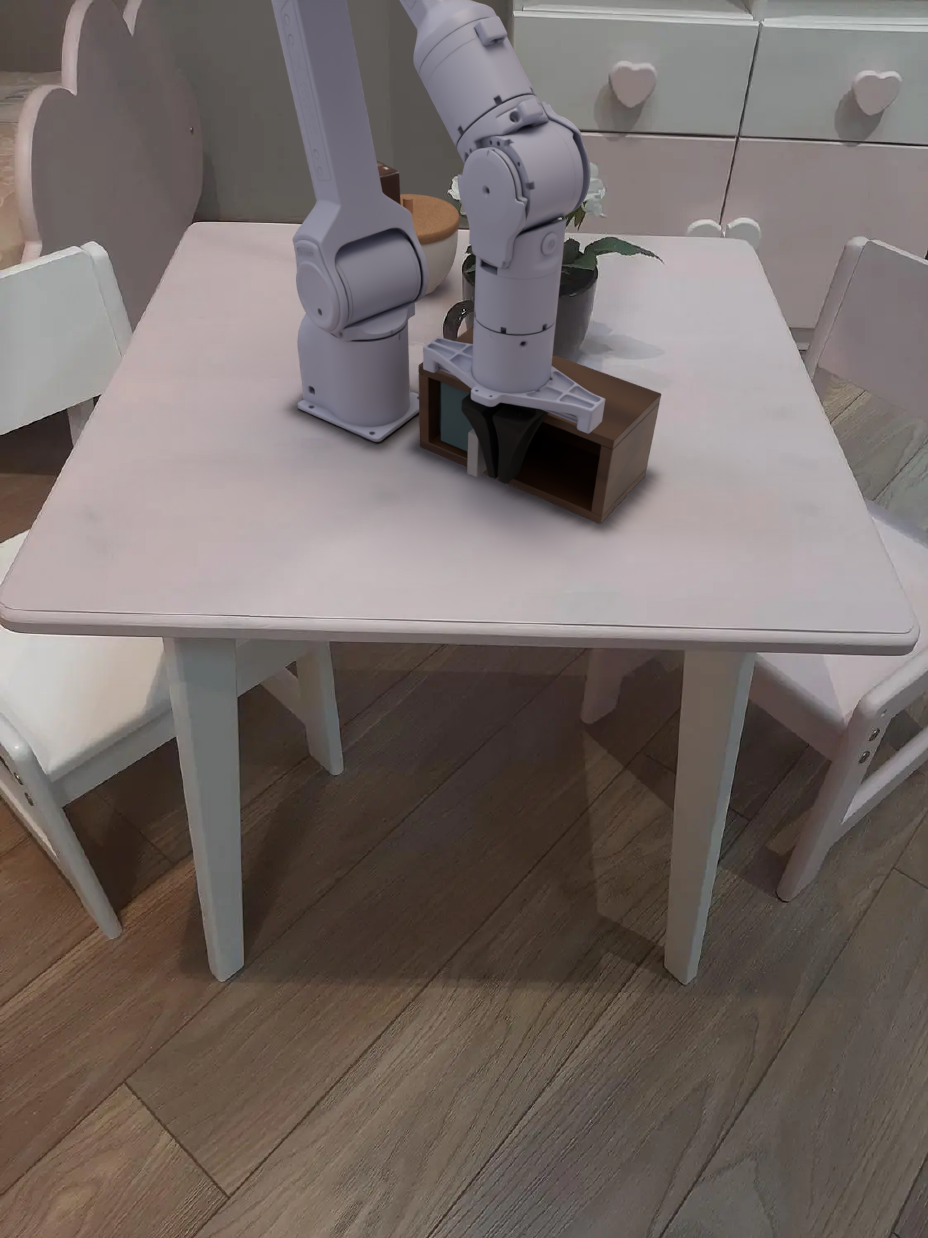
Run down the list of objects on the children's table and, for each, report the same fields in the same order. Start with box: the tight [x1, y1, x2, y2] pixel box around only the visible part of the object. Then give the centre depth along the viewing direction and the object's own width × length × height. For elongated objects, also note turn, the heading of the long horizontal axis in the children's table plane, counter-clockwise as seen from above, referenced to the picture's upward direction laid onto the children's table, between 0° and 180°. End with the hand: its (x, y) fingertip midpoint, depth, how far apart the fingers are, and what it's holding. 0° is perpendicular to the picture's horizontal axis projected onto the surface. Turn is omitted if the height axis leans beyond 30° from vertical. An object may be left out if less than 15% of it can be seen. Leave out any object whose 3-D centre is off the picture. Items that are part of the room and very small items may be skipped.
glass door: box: [441, 382, 487, 478], centre depth 76 cm, size 4×8×6 cm, turn 55°
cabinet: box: [418, 325, 662, 525], centre depth 78 cm, size 8×18×8 cm, turn 56°
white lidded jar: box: [400, 193, 460, 296], centre depth 100 cm, size 11×11×9 cm
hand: (504, 474), depth 74 cm, fingers closed, pressing on cabinet
